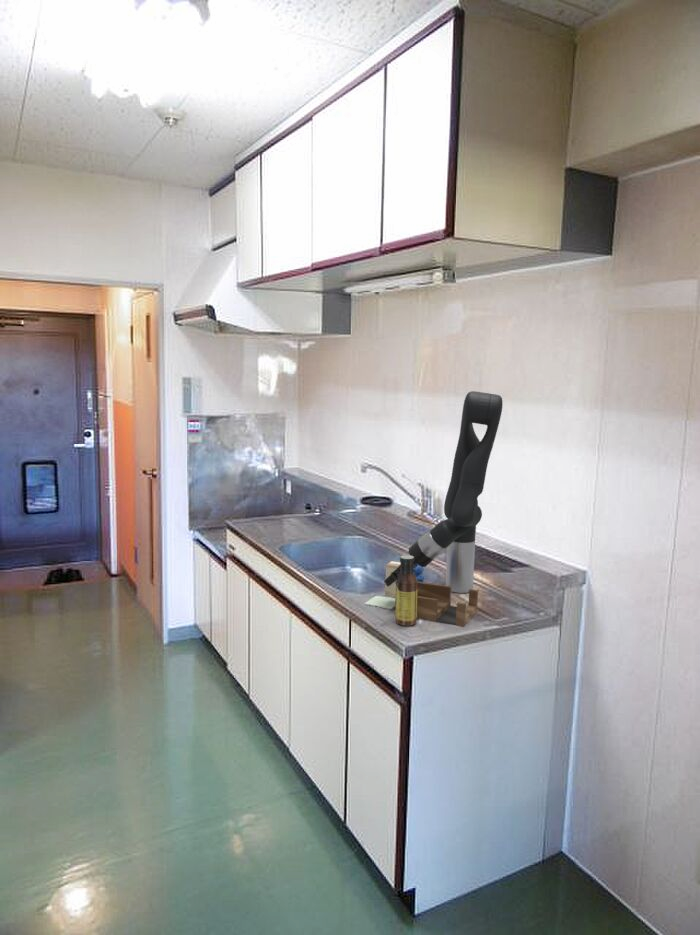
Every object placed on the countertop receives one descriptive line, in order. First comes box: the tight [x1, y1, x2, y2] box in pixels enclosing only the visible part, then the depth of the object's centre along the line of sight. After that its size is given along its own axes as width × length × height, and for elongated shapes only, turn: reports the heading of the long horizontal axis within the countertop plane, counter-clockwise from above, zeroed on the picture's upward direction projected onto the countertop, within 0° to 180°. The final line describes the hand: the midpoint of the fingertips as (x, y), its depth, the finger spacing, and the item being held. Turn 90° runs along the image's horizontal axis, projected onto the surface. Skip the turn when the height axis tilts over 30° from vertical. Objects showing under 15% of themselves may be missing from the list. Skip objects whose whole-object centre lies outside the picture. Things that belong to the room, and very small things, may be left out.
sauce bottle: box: [394, 554, 417, 627], centre depth 192 cm, size 7×6×20 cm
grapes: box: [413, 564, 425, 582], centre depth 221 cm, size 12×7×12 cm, turn 30°
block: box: [384, 560, 401, 599], centre depth 207 cm, size 5×4×10 cm
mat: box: [364, 595, 396, 610], centre depth 211 cm, size 9×9×1 cm
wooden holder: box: [416, 581, 479, 627], centre depth 202 cm, size 15×21×6 cm
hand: (389, 581), depth 208 cm, fingers closed on block, 5 cm apart
